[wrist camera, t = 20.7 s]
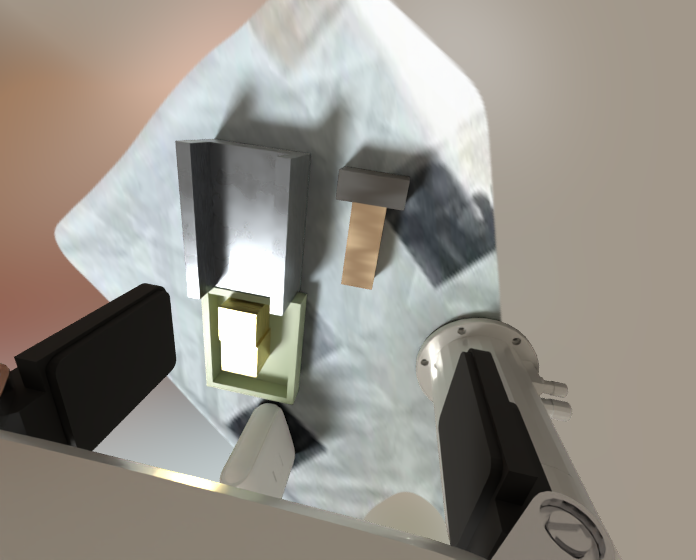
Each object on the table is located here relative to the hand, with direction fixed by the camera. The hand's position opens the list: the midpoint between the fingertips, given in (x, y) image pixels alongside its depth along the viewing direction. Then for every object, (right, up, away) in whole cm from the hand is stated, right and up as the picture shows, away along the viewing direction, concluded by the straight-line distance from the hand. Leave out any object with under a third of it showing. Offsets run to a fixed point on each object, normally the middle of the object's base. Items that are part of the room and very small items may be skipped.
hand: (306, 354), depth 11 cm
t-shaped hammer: (+4, +12, +19) cm, 23 cm away
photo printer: (-8, -18, +36) cm, 41 cm away
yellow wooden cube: (-10, -1, +28) cm, 29 cm away
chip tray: (-9, -4, +30) cm, 32 cm away
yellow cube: (-10, -4, +27) cm, 29 cm away
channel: (-8, +9, +24) cm, 26 cm away
